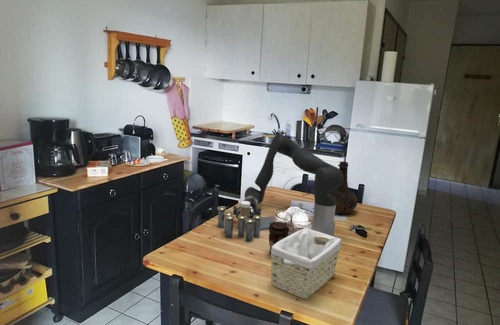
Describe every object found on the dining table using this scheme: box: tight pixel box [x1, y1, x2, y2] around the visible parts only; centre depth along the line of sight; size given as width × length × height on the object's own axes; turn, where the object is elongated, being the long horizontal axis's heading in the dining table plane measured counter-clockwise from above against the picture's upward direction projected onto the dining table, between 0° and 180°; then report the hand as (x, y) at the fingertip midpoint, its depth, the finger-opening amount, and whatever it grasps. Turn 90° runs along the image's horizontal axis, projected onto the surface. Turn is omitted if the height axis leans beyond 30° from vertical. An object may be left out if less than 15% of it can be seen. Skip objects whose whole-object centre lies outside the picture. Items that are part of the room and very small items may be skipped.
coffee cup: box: [268, 221, 290, 257], centre depth 147 cm, size 9×8×13 cm
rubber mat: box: [253, 215, 276, 231], centre depth 179 cm, size 13×13×1 cm
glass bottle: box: [328, 161, 358, 215], centre depth 200 cm, size 18×18×28 cm
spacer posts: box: [216, 205, 263, 243], centre depth 166 cm, size 21×16×10 cm
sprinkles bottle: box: [239, 200, 250, 232], centre depth 170 cm, size 5×5×13 cm
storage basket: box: [270, 228, 342, 299], centre depth 129 cm, size 24×16×15 cm
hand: (243, 217), depth 167 cm, fingers open, 5 cm apart
